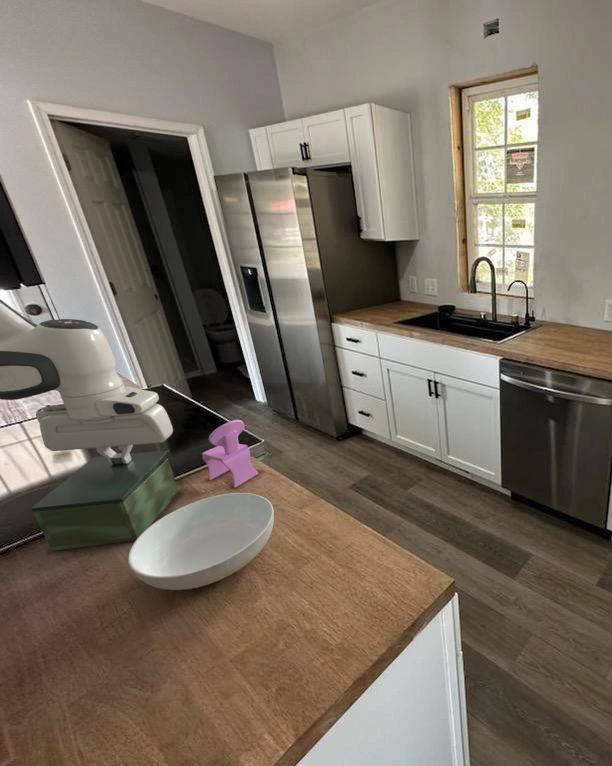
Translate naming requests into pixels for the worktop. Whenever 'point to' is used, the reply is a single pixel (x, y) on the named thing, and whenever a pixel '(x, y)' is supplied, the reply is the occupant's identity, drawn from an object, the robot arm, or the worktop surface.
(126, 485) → the green box lid
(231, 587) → the worktop surface
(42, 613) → the worktop surface
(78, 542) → the box
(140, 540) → the serving bowl
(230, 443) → the toy chair
